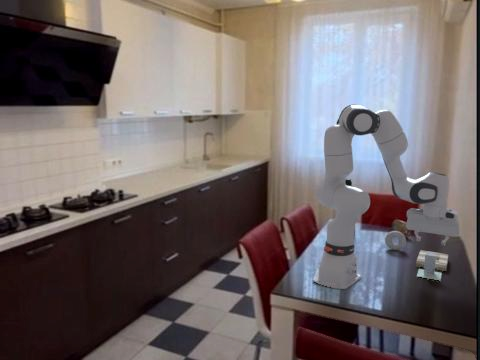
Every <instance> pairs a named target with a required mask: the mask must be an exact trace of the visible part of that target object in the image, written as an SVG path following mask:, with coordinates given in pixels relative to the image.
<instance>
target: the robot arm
mask: <svg viewBox="0 0 480 360" xmlns="http://www.w3.org/2000/svg"><path fill="white" fill-rule="evenodd" d="M403 129H404V128H403V127H402V126H401V123H400V122H399V121H398V119H397V117H396V116H395V115H394V114H393V112H392V111H390V110H388V109H382V110H378V111H376V112H374V111H372V110H371V109H369V108H368V107H365V106H364V105H360V104H349V105H347V106H345V107H344V108H343V109H342V110H341V112H340V114H339V116H338V118H337V120H336V124H335V125H331V126H330V127H328V128H326V130H325V132H324V138H323V153H324V167H325V172H324V173H325V174H324V178H323V181H322V183H321V184H320V185H319V186H318V187H317V189H316V193H315V196H316V197H315V198H316V200H317V202H318V203H319V204H321V205H322V206H324V207H326V208H329V209H332V210H335V211H336V215H335V217H334V218H333V219H332V220H330V221H328V224H327V226H326V241H325V244H324V248H323V251H322V256H321V259H320V261H319V266H317V268H316V271H315V272H314V276H313V277H312V278H313V279H312V282H313V281H314V282H316V283H318V284H321V285H320V286H322V285H324V286H323V287H325V286H327V287H326V288H330V287H331V288H332V289H338V290H346V289H348V288H349V287H351V286H352V285H354V284H355V283H356V282H358V281H359V280H361V278H362V276H361V274H359V273H358V257H357V256H356V255H355V253H354V252H355V247H356V246H355V243H354V239H355V237H354V229H355V230H356V224H357V222H358V220H359V218H360V217H361V216H362V215H364V214H365V213H366V212H368V210H369V208H370V206H371V198H370V195H369V193H368V192H367V191H365V190H363V189H361V188H359V187H355V186H353V185H352V186H347V185H346V183H345V181H346V179H347V177H348V176H350V175H351V174H352V173H353V171H354V158H353V157H354V156H353V146H352V143H353V142H352V141H353V139H354V136H355V135H356V136H366V135H370V134H371V136H372V137H373V139H374V141H375V143H376V146H377V148H378V149H379V152H380V154H381V157H382V160H383V163H384V166H385V168H386V170H387V173H388V176H389V178H390V181H391V190H392V194H393V195H394V197H395V198H397V199H399V200H403V201H407V202H410V203H412V204H417V205H422V209H421V208H414V207H413V208H409V209H408V210H407V211H406V217H407V221H406V228H407V229H408V230H411V231H414V232H413V233H414V235H415V237H416V242H421V238H422V237H421V236H419V232H422V233H429V234H435V235H441V236H445V239H444V240H441V243H440V244H441V246H445V247H446V242H447V241H448V240H450V237H455V238H457V237H459V236H460V233H461V232H460V231H461V229H460V227H461V225H460V220H459V212H458V211H455V210H454V209H450V208H448V207H447V206H448V203H447V199H448V196H449V193H450V192H449V190H450V179H449V177H448V175H446V174H444V173H440V172H434V171H429V172H428V173H427V174H426V175H424V176H422V177H419V178H417V179H415V178H412V177H410V176H409V175H408V174H407V173H406V171H405V169H404V167H403V164H402V161H401V156H402V155H404V154H405V153H406V151H407V150H408V147H409V143H408V138H407V136H406V133H405V131H404V130H403ZM314 282H313V283H314ZM316 283H315V284H316ZM318 284H317V285H318Z"/></svg>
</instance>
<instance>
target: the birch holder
mask: <svg viewBox="0 0 480 360" xmlns="http://www.w3.org/2000/svg"><path fill="white" fill-rule="evenodd" d="M426 252H430V253H436V266H435V269H437V270H442V271H441V272H443V271H446V272H447V268H448V263H449V262H448V260H449V253H448V254H447V253H441V252H434V251H428V250H421V249H420V251H419V253H418V256H417V258H416V263H415V264H416V266H415V267H416V268H420V267H423V268H422V269H424V264H425V254H426ZM437 270H436V271H437Z"/></svg>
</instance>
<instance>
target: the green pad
mask: <svg viewBox="0 0 480 360" xmlns="http://www.w3.org/2000/svg"><path fill="white" fill-rule="evenodd" d="M418 277H422V278H421V279H423V278H427V279H426V280H429V279H434V280H439V281H440V282H441V281H442V272H441V271H435V275H434V277H432V276H426V275H424V268H418V270H417V274H416V278H418ZM434 280H433V281H434ZM439 281H438V282H439Z"/></svg>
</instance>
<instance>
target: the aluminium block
mask: <svg viewBox="0 0 480 360" xmlns="http://www.w3.org/2000/svg"><path fill="white" fill-rule="evenodd" d="M430 252H431V251H429V252H426V254H425V264H424V268H423V270H424V275H426V276H432V277H434V275H435V272H436V270H435V266H436V253H437V252H436V253H430Z"/></svg>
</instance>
